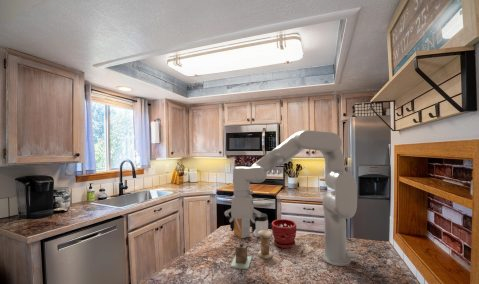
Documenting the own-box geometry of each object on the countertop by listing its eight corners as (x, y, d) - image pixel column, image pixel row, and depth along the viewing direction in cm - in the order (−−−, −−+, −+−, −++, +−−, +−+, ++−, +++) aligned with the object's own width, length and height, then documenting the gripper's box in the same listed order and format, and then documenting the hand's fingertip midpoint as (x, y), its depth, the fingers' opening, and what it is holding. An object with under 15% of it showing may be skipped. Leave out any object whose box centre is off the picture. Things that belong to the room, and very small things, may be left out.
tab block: (247, 258, 103) (247, 241, 103) (245, 263, 99) (245, 245, 99) (237, 257, 104) (238, 240, 104) (235, 262, 100) (235, 244, 100)
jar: (251, 236, 131) (251, 216, 131) (255, 231, 139) (254, 212, 139) (266, 238, 128) (266, 217, 128) (269, 233, 136) (269, 213, 136)
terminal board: (251, 258, 105) (251, 256, 105) (248, 269, 96) (248, 267, 96) (235, 256, 107) (235, 254, 107) (230, 267, 97) (230, 265, 97)
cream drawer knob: (272, 252, 111) (272, 230, 111) (271, 259, 104) (271, 236, 104) (258, 251, 112) (258, 229, 112) (257, 258, 105) (257, 234, 106)
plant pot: (273, 238, 128) (273, 217, 128) (296, 241, 124) (296, 219, 125) (270, 248, 115) (270, 225, 116) (296, 251, 112) (296, 228, 112)
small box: (233, 234, 134) (233, 212, 135) (242, 231, 138) (242, 211, 138) (241, 238, 128) (241, 216, 128) (250, 236, 131) (250, 214, 132)
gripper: (261, 191, 104) (262, 228, 104) (226, 191, 107) (227, 226, 107) (259, 195, 97) (260, 234, 96) (221, 194, 100) (222, 232, 100)
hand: (243, 230), depth 102 cm, fingers open, 9 cm apart
